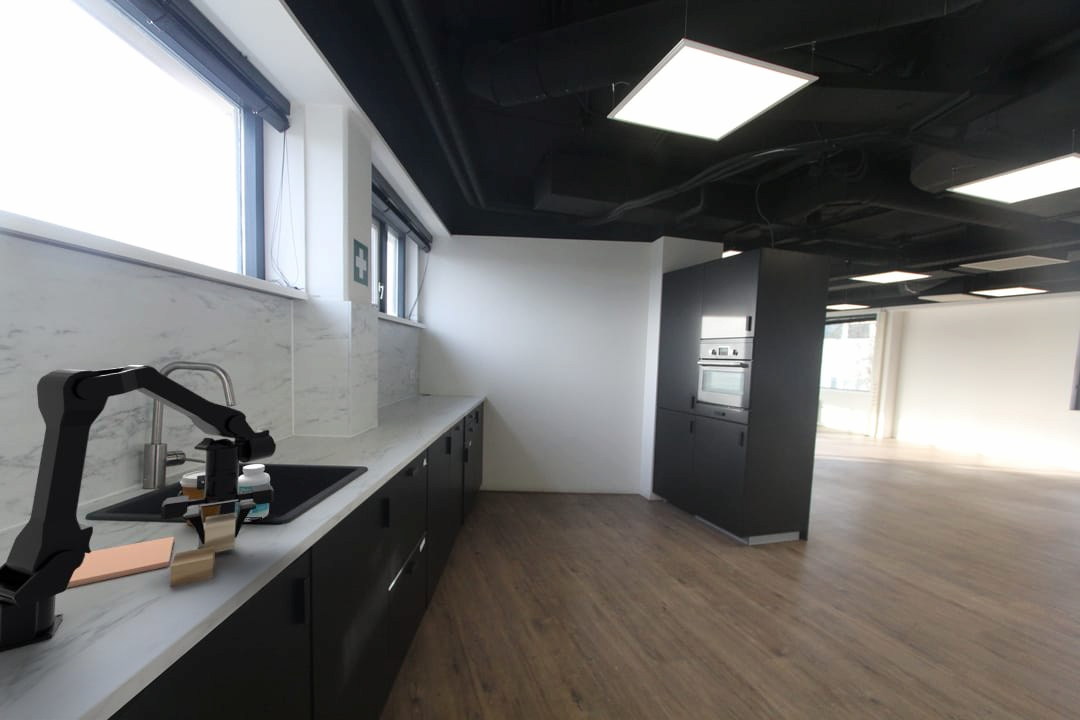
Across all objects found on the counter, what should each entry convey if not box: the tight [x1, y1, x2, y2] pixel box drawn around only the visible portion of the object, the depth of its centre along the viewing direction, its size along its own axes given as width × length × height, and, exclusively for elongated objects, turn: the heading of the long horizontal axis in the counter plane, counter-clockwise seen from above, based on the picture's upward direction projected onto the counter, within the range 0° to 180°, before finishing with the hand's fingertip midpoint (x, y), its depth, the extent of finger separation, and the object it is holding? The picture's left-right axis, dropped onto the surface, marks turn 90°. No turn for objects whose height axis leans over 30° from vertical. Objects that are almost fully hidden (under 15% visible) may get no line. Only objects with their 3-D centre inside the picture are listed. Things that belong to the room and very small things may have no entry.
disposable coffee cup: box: [179, 469, 222, 526], centre depth 105 cm, size 10×10×12 cm
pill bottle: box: [234, 463, 271, 523], centre depth 108 cm, size 8×7×14 cm
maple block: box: [203, 512, 236, 553], centre depth 88 cm, size 5×5×6 cm
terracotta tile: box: [66, 536, 175, 589], centre depth 83 cm, size 14×14×1 cm
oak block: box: [169, 546, 216, 588], centre depth 79 cm, size 6×6×4 cm
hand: (219, 540), depth 88 cm, fingers closed on maple block, 5 cm apart
